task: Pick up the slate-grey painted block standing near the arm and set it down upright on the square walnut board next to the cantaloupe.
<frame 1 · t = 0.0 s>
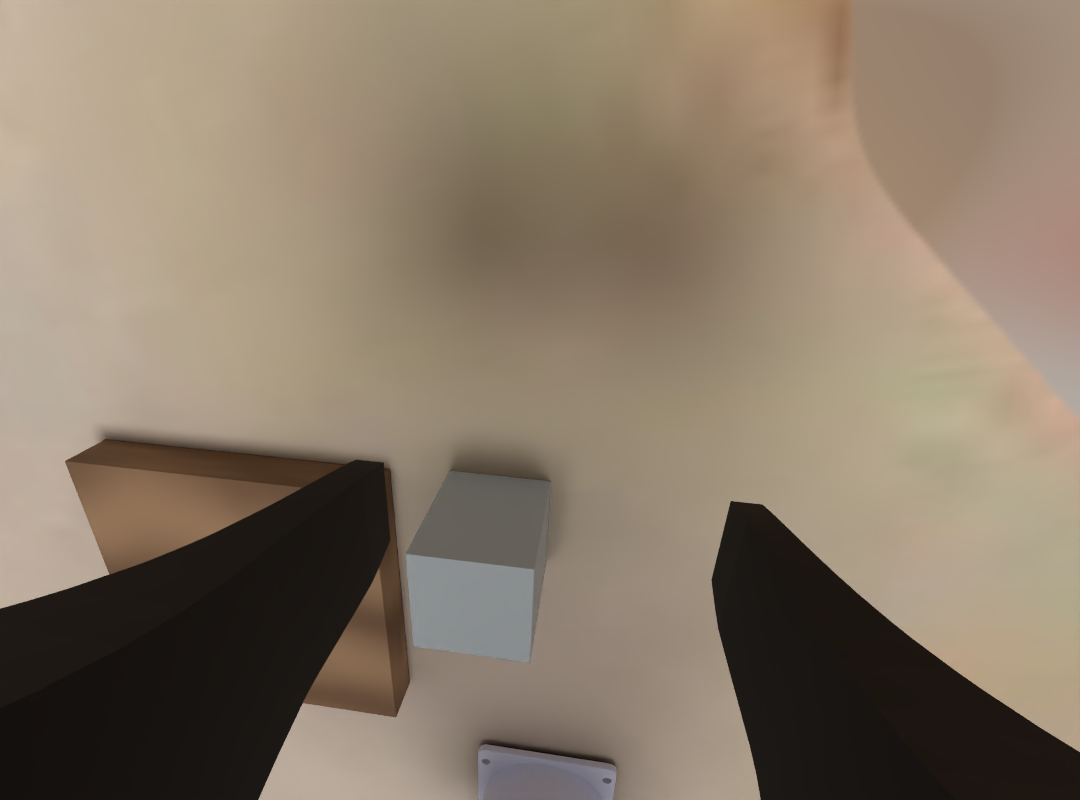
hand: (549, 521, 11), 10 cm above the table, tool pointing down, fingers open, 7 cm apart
block: (499, 517, 24), on the table
board: (270, 571, 27), on the table
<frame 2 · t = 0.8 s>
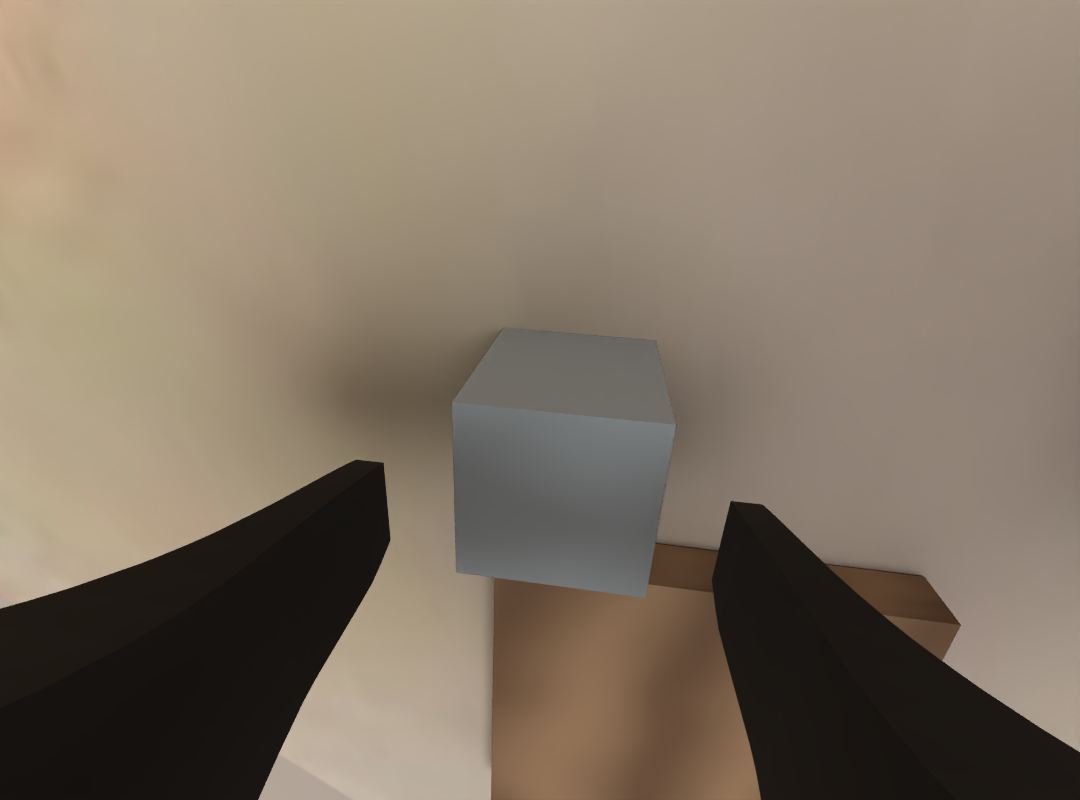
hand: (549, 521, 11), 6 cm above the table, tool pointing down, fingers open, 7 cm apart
block: (573, 402, 16), on the table
board: (675, 688, 21), on the table
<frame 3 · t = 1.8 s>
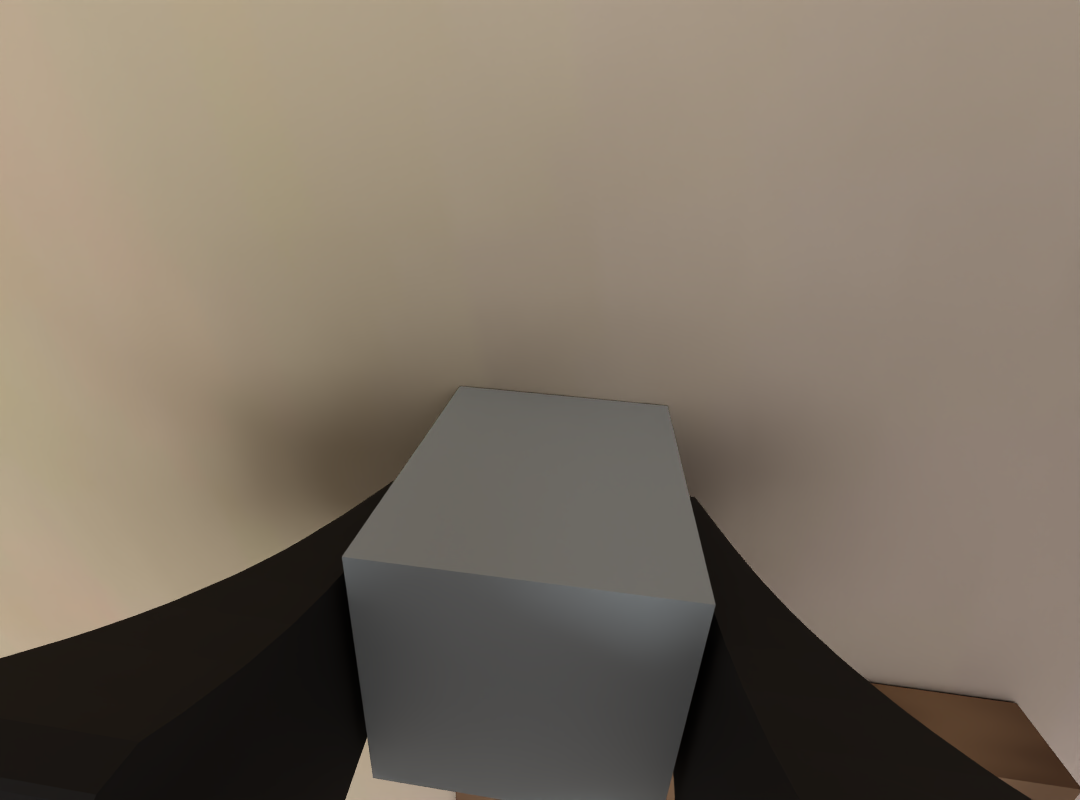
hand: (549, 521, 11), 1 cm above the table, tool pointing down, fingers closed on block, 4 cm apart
block: (555, 483, 12), on the table, touching gripper
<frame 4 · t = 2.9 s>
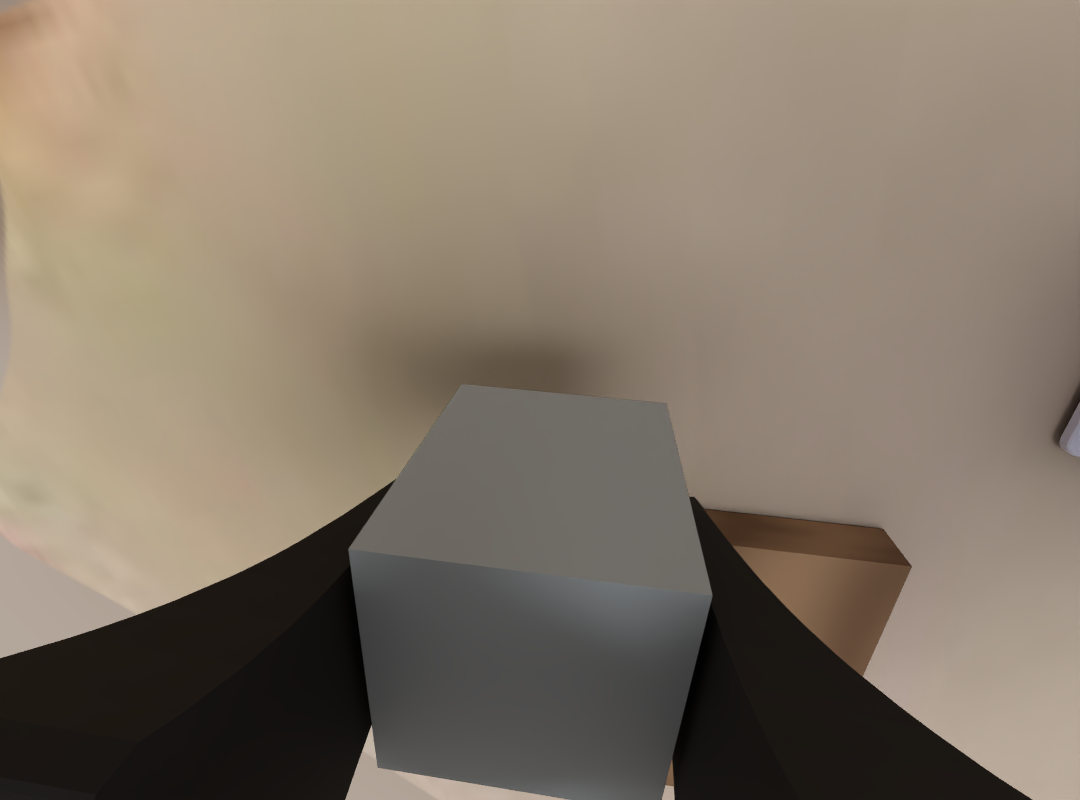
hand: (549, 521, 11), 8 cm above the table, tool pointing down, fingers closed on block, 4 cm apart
block: (555, 480, 12), point 7 cm above the table, touching gripper
board: (665, 638, 23), on the table
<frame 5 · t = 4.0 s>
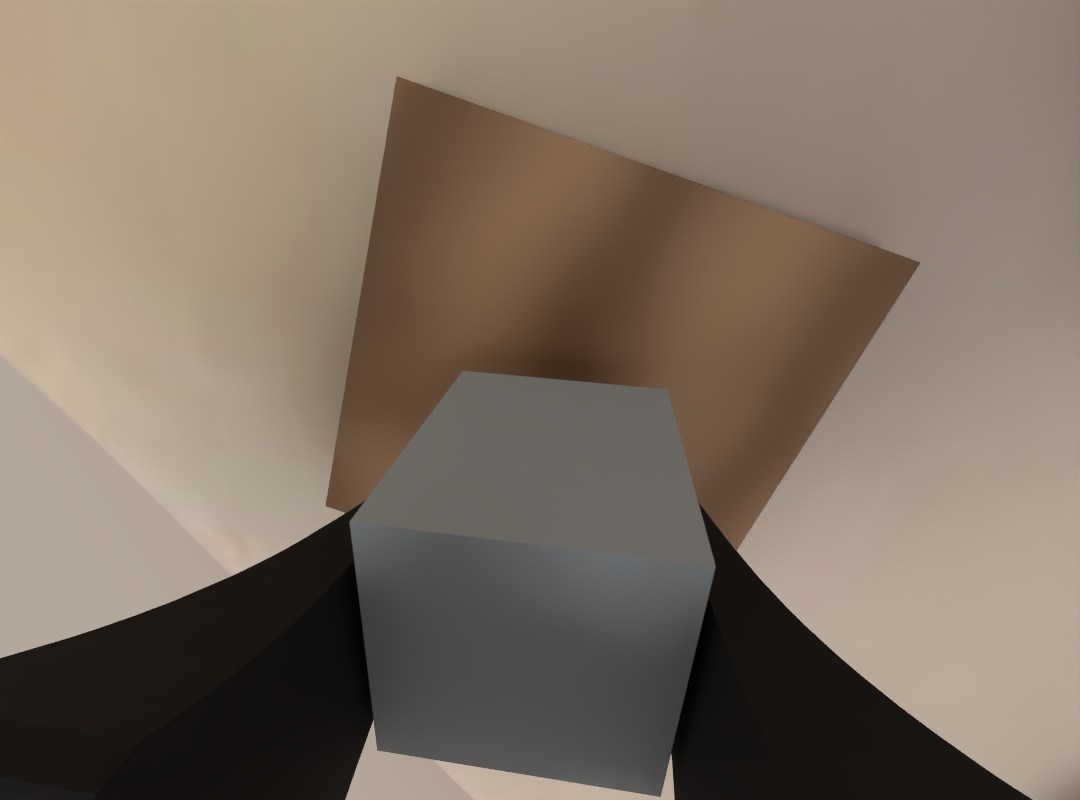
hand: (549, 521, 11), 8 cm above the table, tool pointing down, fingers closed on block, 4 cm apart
block: (556, 468, 12), point 6 cm above the table, touching gripper
board: (573, 381, 18), on the table
when the fingers open (4 cm above the table, at t = 5.0 s): block stays where it is, resting on board.
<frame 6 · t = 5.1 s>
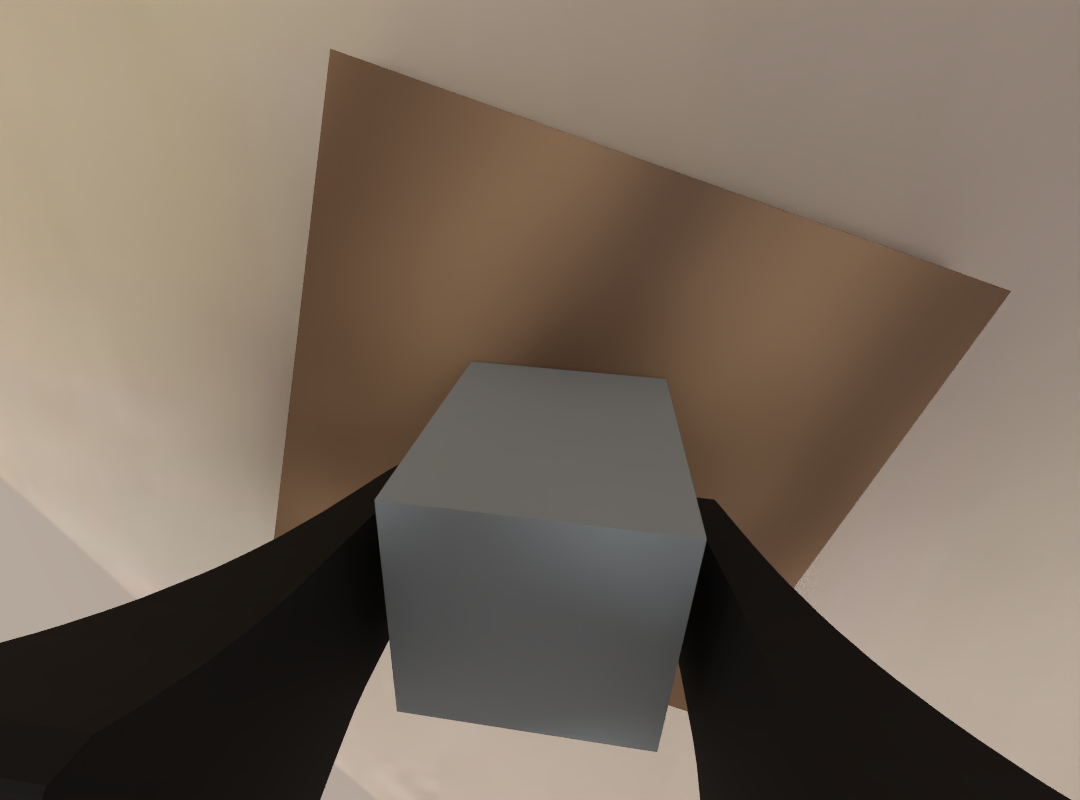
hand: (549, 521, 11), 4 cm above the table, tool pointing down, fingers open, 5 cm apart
block: (560, 454, 13), point 2 cm above the table, touching board
board: (565, 425, 15), on the table
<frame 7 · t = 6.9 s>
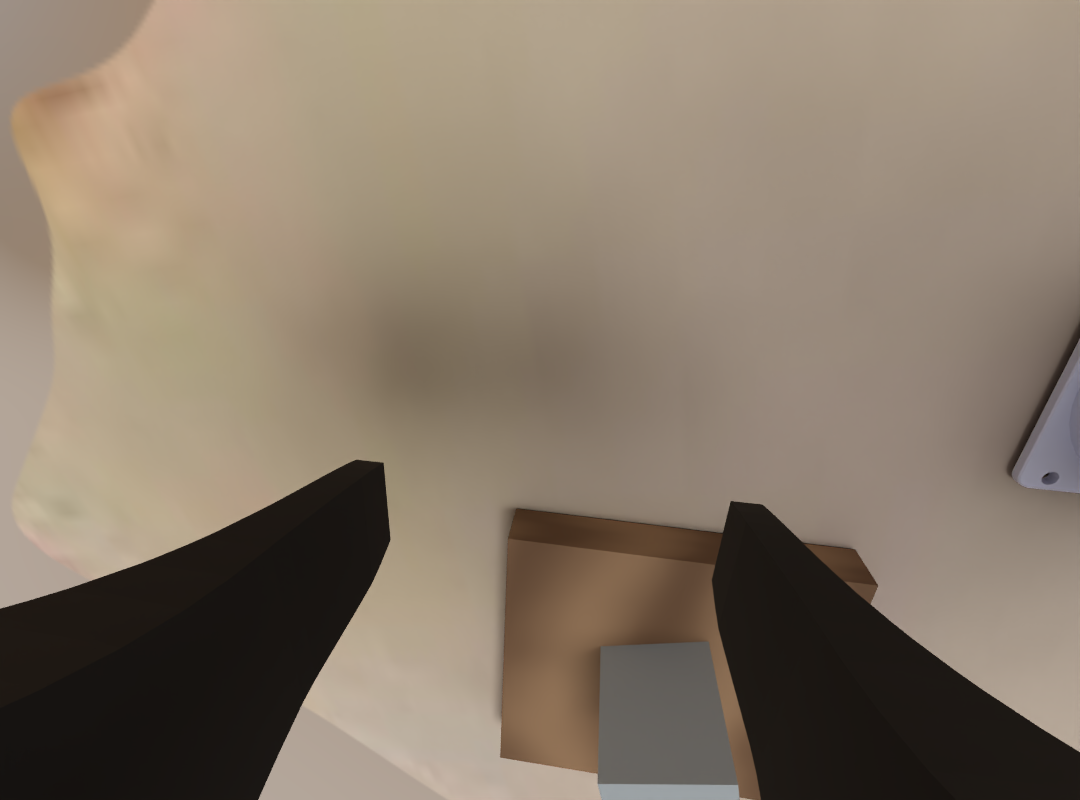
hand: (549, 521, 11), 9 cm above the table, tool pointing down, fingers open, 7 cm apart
block: (659, 681, 23), point 2 cm above the table, touching board
board: (656, 646, 25), on the table
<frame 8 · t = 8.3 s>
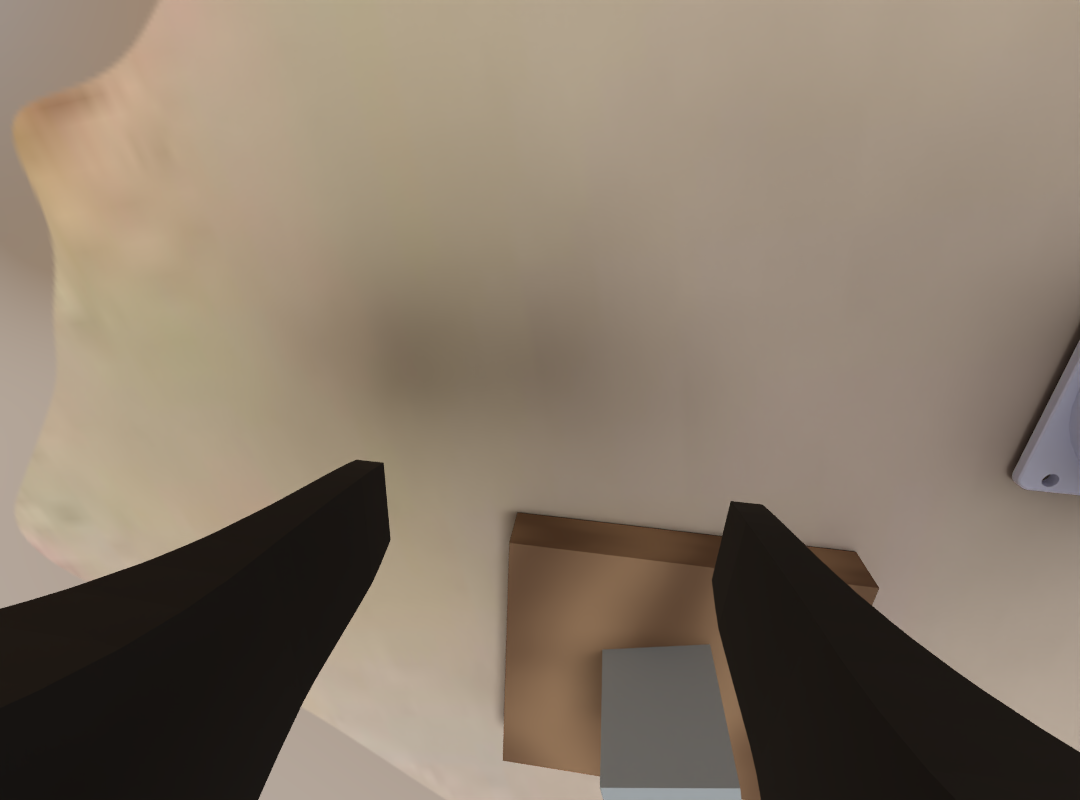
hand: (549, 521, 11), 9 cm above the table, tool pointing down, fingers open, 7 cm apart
block: (661, 683, 23), point 2 cm above the table, touching board
board: (657, 649, 25), on the table
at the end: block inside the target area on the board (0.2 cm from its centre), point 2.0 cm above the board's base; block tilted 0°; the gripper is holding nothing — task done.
